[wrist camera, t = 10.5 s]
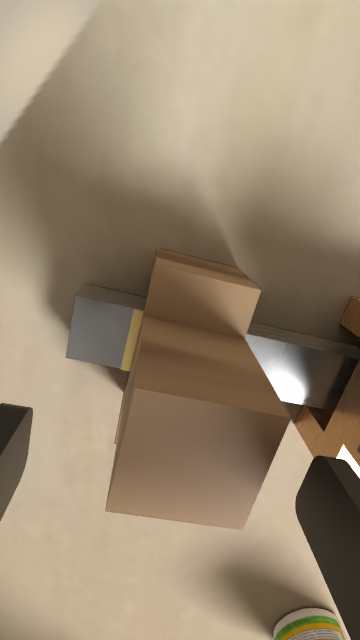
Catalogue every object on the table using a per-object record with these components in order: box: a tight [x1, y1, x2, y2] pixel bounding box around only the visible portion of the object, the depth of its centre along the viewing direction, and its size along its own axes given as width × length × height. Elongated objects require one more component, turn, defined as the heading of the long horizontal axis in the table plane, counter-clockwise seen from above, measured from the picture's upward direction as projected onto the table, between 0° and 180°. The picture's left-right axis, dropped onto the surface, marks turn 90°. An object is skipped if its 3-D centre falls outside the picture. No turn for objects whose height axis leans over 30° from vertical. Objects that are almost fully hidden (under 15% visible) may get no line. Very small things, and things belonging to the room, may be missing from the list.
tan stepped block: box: [105, 248, 291, 530], centre depth 13 cm, size 8×4×9 cm, turn 165°
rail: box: [66, 284, 360, 478], centre depth 14 cm, size 8×20×9 cm, turn 75°
